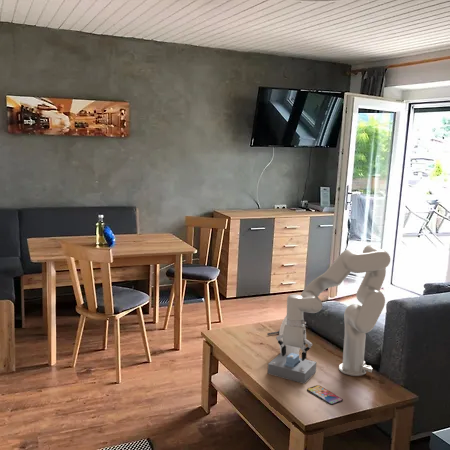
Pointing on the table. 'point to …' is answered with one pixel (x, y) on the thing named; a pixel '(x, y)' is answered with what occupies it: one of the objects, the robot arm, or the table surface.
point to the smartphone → (324, 394)
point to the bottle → (288, 348)
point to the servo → (292, 360)
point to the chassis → (292, 369)
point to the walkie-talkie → (273, 333)
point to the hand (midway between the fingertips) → (293, 357)
